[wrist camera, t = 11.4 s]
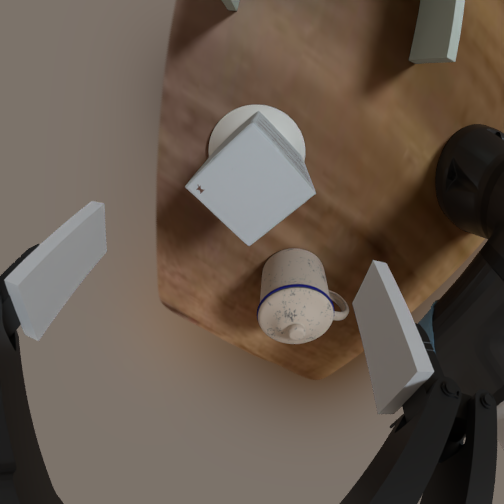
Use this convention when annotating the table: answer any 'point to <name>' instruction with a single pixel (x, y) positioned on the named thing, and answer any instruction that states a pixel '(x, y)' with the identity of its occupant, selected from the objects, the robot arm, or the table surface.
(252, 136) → the supplement box
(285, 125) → the coaster
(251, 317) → the table surface
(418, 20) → the three-sided green enclosure
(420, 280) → the table surface
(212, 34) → the table surface
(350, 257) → the table surface
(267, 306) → the teacup with lid
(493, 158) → the robot arm
